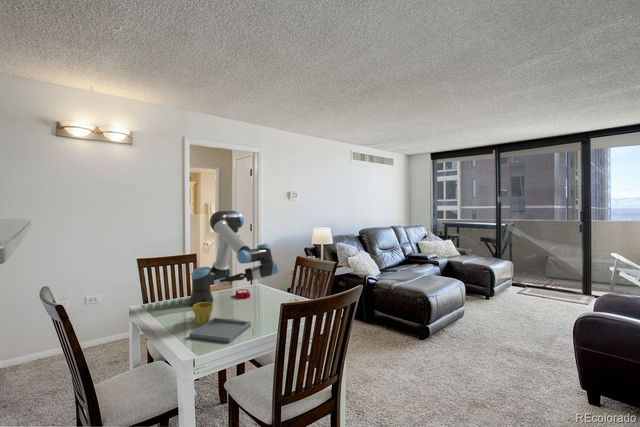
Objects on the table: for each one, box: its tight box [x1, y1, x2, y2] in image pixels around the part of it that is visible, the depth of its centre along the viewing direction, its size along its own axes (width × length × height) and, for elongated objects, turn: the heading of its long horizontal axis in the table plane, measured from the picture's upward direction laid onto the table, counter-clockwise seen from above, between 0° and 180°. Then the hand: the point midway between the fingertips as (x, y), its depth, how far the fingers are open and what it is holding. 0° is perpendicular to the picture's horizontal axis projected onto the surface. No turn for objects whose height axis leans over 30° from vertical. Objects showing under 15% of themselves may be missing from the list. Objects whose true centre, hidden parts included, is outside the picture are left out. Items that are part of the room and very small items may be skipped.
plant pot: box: [192, 302, 214, 325], centre depth 178 cm, size 10×10×10 cm
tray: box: [189, 317, 252, 344], centre depth 164 cm, size 22×22×2 cm
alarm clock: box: [234, 288, 251, 300], centre depth 227 cm, size 10×6×15 cm
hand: (216, 282), depth 184 cm, fingers open, 13 cm apart
